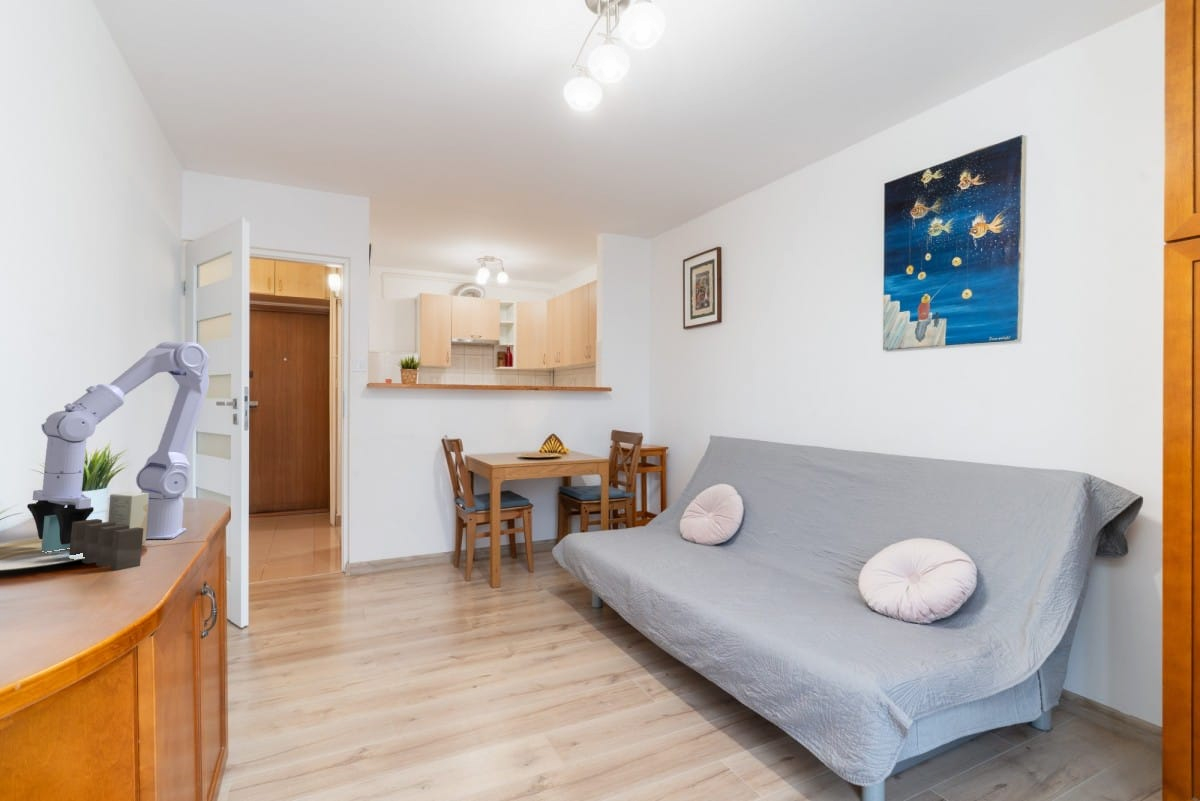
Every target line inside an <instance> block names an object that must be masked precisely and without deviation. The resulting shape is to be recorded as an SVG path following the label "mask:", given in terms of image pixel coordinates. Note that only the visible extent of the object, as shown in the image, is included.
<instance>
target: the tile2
mask: <svg viewBox="0 0 1200 801" xmlns="http://www.w3.org/2000/svg"><path fill="white" fill-rule="evenodd" d="M96 523H103V520H102V519H99V518H94V519H86V520H84V521H76V522H72V532H71V542H70V550H69V553H68V556H69V555H76V554H80V553H83V549H84V539H85V529H86V525H89V524H96Z"/></svg>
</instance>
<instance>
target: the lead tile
mask: <svg viewBox="0 0 1200 801" xmlns="http://www.w3.org/2000/svg"><path fill="white" fill-rule="evenodd" d="M41 540H42V541H41V549H40V550H41V551H44V552H47V551H54V550H59V549H67V548H70V544H64V545H63V544H61V542H60V529H59V522H58V519H57V516H56V515H50V516H45V519H44V529H43V539H41Z"/></svg>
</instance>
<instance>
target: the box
mask: <svg viewBox="0 0 1200 801" xmlns="http://www.w3.org/2000/svg"><path fill="white" fill-rule="evenodd" d="M148 499H149V493H141V492H138V491H137V492H136V491H123V492H116V493H111V494H110V495H109V506H108V507H109V508H108V509H109V510H108V520H107V522H115V523H116V524H115V526H116V525H123V524H124V525H129V529H130V528H136V527H139V528H144V529H143V540H142V547H143V546H146V544H147V543H146V542H147V541H146V540H147V539H146V529H147V514H148Z"/></svg>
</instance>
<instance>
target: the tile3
mask: <svg viewBox="0 0 1200 801" xmlns="http://www.w3.org/2000/svg"><path fill="white" fill-rule="evenodd" d="M115 524H116V523H115V522H108V521H105V522H104V521H103V522H102V523H96V524H89V525H86V529H85V539H84V549H83V557H85V559H81V560H82V563H83V564H94V563H96V561H97V550H98V540H99V530H100V528H102V527H109V526H115Z"/></svg>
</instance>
